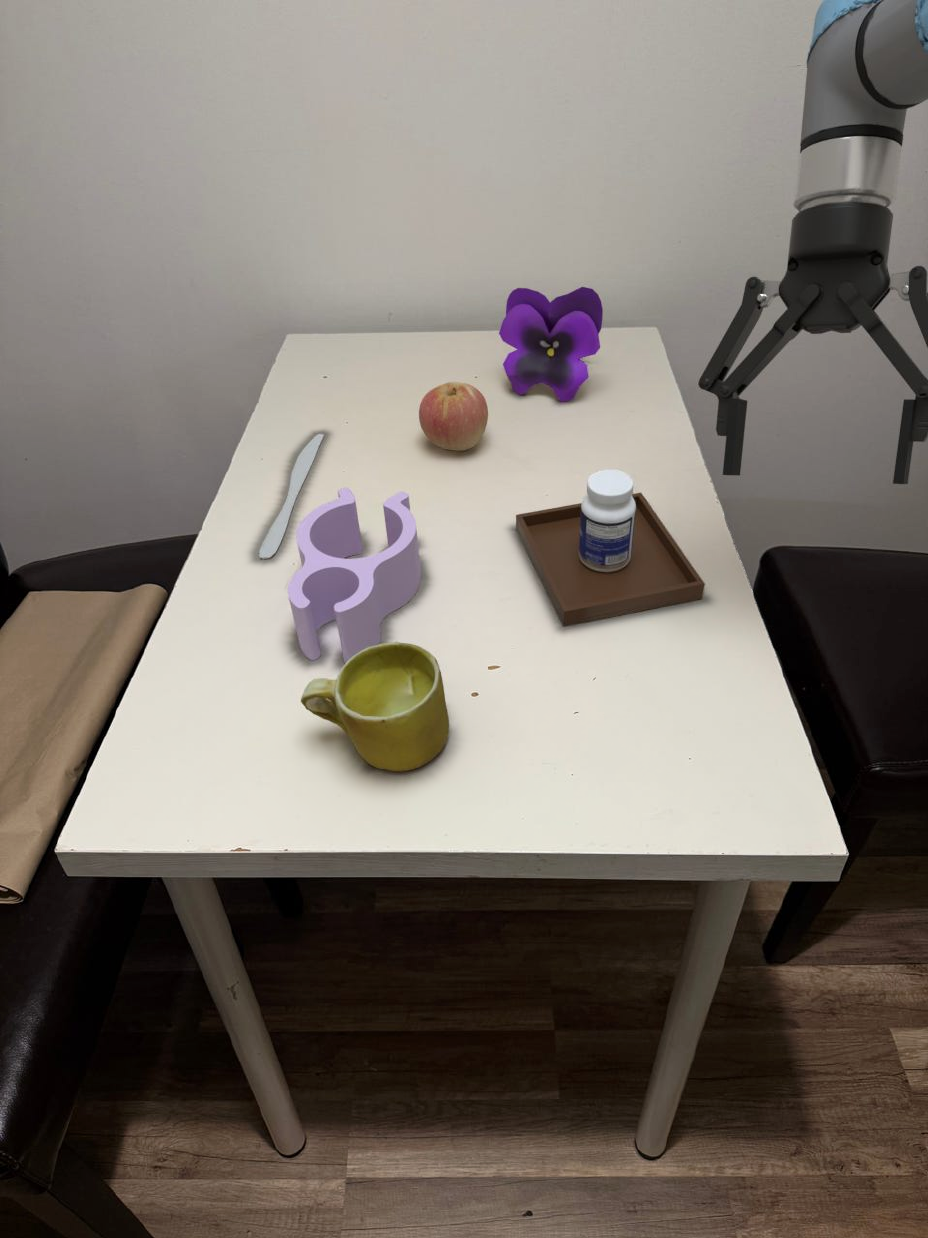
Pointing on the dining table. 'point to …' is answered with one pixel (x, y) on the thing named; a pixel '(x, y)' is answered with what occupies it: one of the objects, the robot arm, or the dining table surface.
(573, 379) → the flower
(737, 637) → the dining table surface
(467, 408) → the apple
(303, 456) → the butter knife
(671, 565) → the brown square tray
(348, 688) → the mug
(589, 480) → the pill bottle
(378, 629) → the clip
